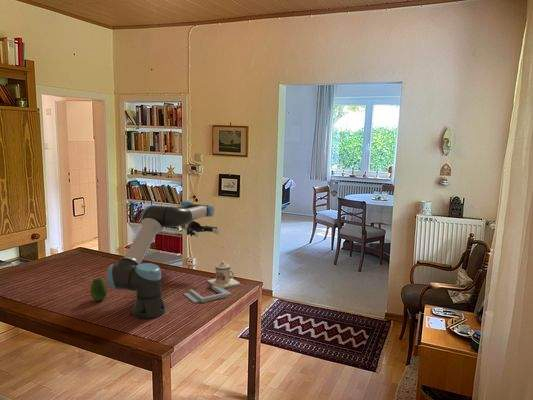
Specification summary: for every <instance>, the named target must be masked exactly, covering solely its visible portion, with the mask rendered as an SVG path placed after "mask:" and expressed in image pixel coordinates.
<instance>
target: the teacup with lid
mask: <svg viewBox="0 0 533 400" xmlns="http://www.w3.org/2000/svg"><path fill="white" fill-rule="evenodd" d="M214 269H215V279H216V282H218V283H227V282H229V281H230V279H231V278H233V279H234V276H235V273H234V271H233V270H231V265H230V264H228V263H226V262H225V261H221V262H220V263H218V264H215V266H214Z"/></svg>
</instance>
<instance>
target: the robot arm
mask: <svg viewBox="0 0 533 400" xmlns="http://www.w3.org/2000/svg"><path fill="white" fill-rule="evenodd" d="M214 215H215V207H214V206H213V205H212V204H197V203H194V202H193V201H192V200H182V201H181V203H180V207H176V206H167V205H165V206H164V205H147V206H146V207H144V208H143V210H142V211H141V215H140V222H141V225H142V226H141V228H140V230H139V231H138V233H137V235H136V237H135V238H134V239H133V241H132V243H131V244H130V247H129V248H128V250H127V252H126V253H125V255H124V257H120V258H119V260H118V261H117V263H113V264H110V265H109V266H108V268H107V270H106V274H105V278H106V284H107V285H108V287H110V289H116V290H123V291H124V290H125V291H132V292H136V299H135V302H134V305H133V308H132V315H133V316H134V317H135V318H137V319H144V320H145V319H148V320H150V319H155V318H158V317H160V316H163V315H164V314H165V312H166V305H165V302H164V298H163V296H162V270H161V268H160V266H159V265H157V264H154V263H151V262H149V263H148V262H146V263H144V262H143V260H144V258H145V256H146V254H147V252H148V251H149V248H150V246H151V245H152V242H153V241H154V239H155V238H156V235H158V233H161V231H162V230H163V228H177V227H180V228H181V229H182V230H184V231H186V235H187V236H189V237H192V236H193V237H195V238H198V237H199V233H204V232H209V233H210V232H211V233H213V234H215V235H219V231H220V230H219V229H218V226H209V225H201V224H200V223H199V222H198V221H195V220H198V219H202V218H205V217H207V218H208V217H210V218H212V217H213V216H214ZM142 262H143V263H142Z"/></svg>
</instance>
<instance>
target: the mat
mask: <svg viewBox="0 0 533 400" xmlns="http://www.w3.org/2000/svg"><path fill="white" fill-rule="evenodd" d="M207 283H208V284H210V285H211V286H212V285H215V286H217V287H218V288H224V289H227V288H230V287H235V286H240V285H241V282H239V281H238V280H236V279H234V277H233V278H231V279H230V281H229V282H227V283H218V282H216V278H211V279H207Z"/></svg>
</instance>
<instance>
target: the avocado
mask: <svg viewBox="0 0 533 400" xmlns="http://www.w3.org/2000/svg"><path fill="white" fill-rule="evenodd" d="M107 294H108V290H107V285H106V284H105V282H104V280H103V279H102V278H100V277H95V278H94V279H93V280H92V283H91V287H90V295H91V298H92V299H93V301H94V300H95V301H97V302H98V301H103V300H104V299H105V298H106V297H107V296H108V295H107Z"/></svg>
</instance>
